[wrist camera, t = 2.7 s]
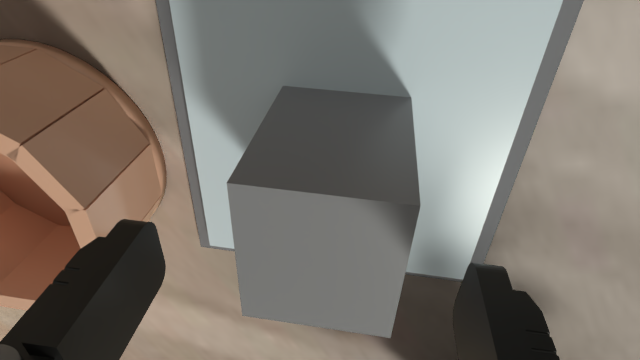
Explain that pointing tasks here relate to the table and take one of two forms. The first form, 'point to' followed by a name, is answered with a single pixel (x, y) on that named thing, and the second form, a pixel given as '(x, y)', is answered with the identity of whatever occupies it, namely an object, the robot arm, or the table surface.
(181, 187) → the table surface
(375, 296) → the cover
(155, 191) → the bowl
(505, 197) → the mat
